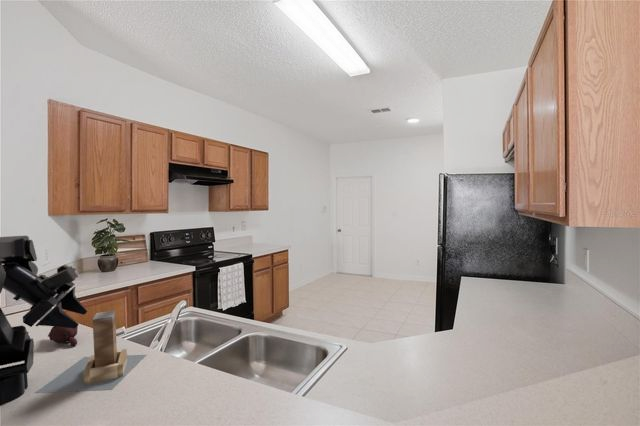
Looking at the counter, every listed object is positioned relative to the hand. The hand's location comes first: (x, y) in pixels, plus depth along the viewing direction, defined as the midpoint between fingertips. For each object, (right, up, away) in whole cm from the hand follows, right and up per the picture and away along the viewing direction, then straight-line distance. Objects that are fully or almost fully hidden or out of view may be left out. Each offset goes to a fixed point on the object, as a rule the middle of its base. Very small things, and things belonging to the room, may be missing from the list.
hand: (81, 319), depth 82 cm
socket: (+8, -12, -3) cm, 15 cm away
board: (+6, -13, -3) cm, 15 cm away
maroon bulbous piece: (-18, -13, +17) cm, 28 cm away
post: (+8, -12, -3) cm, 15 cm away
